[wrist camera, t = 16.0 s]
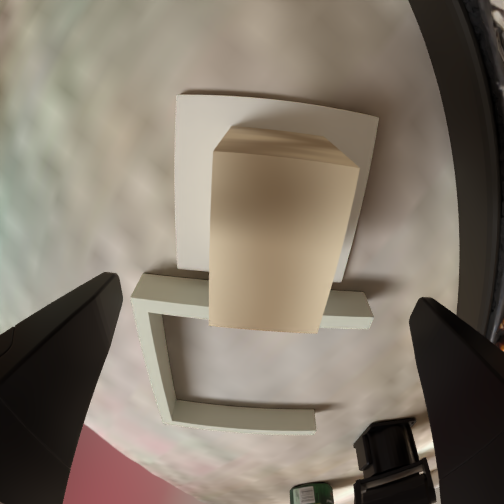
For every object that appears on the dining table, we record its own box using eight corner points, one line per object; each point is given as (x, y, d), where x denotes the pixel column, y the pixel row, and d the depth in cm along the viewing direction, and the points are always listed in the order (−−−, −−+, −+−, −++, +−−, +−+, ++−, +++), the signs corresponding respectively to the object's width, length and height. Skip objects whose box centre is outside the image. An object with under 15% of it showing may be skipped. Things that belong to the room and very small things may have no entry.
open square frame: (363, 292, 19) (374, 317, 17) (311, 414, 28) (313, 434, 25) (143, 273, 19) (130, 297, 17) (167, 403, 27) (162, 423, 25)
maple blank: (323, 136, 14) (360, 168, 9) (302, 258, 18) (317, 333, 12) (231, 126, 14) (212, 151, 9) (223, 251, 17) (208, 325, 12)
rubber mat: (375, 116, 14) (379, 117, 13) (339, 277, 19) (341, 282, 18) (179, 94, 14) (176, 94, 13) (179, 264, 19) (177, 268, 18)
